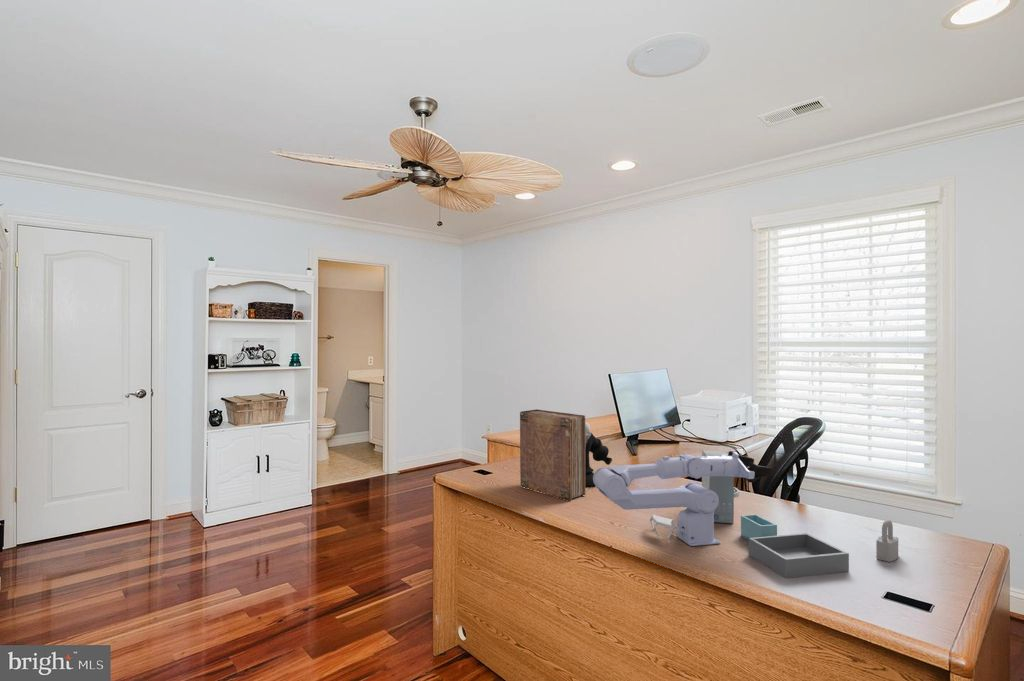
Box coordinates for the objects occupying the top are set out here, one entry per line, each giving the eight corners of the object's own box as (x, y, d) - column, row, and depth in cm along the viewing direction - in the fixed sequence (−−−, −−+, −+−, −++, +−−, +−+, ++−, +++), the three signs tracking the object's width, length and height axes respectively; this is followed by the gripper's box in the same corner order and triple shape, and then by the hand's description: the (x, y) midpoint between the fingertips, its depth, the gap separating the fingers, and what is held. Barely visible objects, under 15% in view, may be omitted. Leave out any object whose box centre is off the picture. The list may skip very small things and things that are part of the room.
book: (586, 496, 192) (585, 415, 192) (570, 501, 186) (569, 418, 186) (536, 482, 211) (535, 409, 211) (520, 487, 204) (519, 411, 204)
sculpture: (557, 481, 212) (557, 420, 212) (595, 472, 227) (595, 415, 227) (585, 489, 201) (585, 425, 201) (623, 479, 216) (623, 419, 216)
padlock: (883, 551, 142) (883, 515, 142) (901, 556, 138) (900, 519, 138) (873, 558, 137) (873, 520, 137) (891, 563, 134) (891, 525, 134)
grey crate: (785, 578, 126) (785, 559, 126) (748, 554, 140) (748, 538, 140) (848, 571, 130) (848, 553, 130) (806, 549, 143) (806, 532, 143)
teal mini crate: (761, 547, 144) (761, 526, 144) (740, 535, 153) (740, 515, 153) (777, 546, 145) (777, 524, 145) (755, 534, 154) (755, 514, 154)
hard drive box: (734, 524, 163) (734, 461, 163) (708, 522, 164) (708, 460, 164) (724, 508, 178) (724, 450, 178) (701, 507, 179) (701, 449, 179)
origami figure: (687, 539, 151) (687, 522, 151) (667, 545, 147) (667, 527, 147) (656, 526, 161) (656, 510, 161) (637, 531, 157) (637, 515, 157)
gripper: (735, 461, 144) (779, 462, 146) (707, 445, 158) (747, 445, 160) (732, 486, 144) (776, 486, 147) (705, 467, 159) (745, 467, 161)
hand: (761, 466), depth 154 cm, fingers open, 7 cm apart
